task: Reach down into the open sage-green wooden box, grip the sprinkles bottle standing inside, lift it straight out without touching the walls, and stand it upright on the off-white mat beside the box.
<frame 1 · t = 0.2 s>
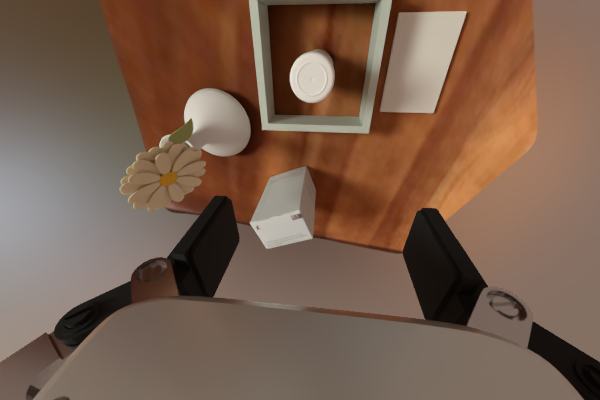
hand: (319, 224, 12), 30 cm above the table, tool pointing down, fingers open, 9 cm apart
open box: (318, 66, 33), on the table
flower in vase: (225, 118, 39), on the table
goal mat: (416, 67, 32), on the table
skincare box: (294, 181, 45), on the table
sprinkles bottle: (318, 66, 33), resting in open box
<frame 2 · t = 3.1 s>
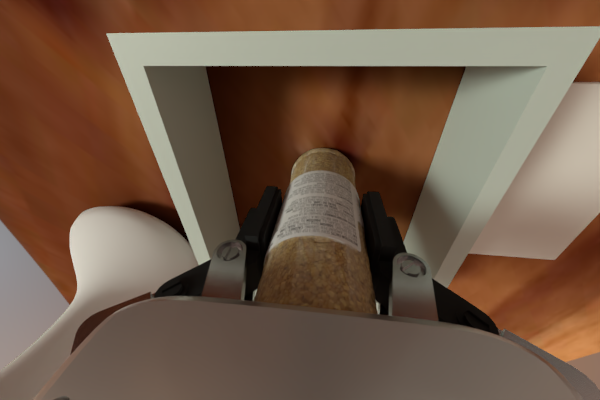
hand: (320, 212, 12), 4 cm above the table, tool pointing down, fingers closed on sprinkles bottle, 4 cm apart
open box: (322, 175, 16), on the table
flower in vase: (156, 238, 22), on the table
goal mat: (538, 185, 15), on the table
sprinkles bottle: (322, 174, 16), resting in open box, touching gripper
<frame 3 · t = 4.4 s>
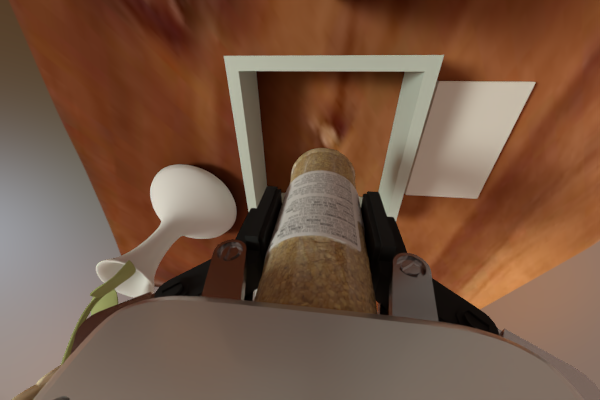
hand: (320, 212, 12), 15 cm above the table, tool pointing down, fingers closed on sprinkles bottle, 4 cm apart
open box: (324, 141, 25), on the table
flower in vase: (204, 193, 31), on the table
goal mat: (457, 145, 24), on the table
sprinkles bottle: (322, 174, 16), point 10 cm above the table, touching gripper
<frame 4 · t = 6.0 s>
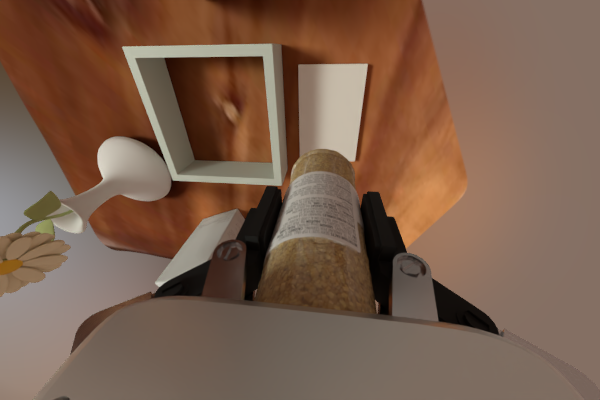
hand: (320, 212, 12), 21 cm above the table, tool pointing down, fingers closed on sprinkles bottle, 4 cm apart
open box: (228, 115, 31), on the table
flower in vase: (146, 163, 37), on the table
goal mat: (329, 116, 30), on the table
skincare box: (229, 222, 43), on the table
sprinkles bottle: (322, 174, 16), point 17 cm above the table, touching gripper
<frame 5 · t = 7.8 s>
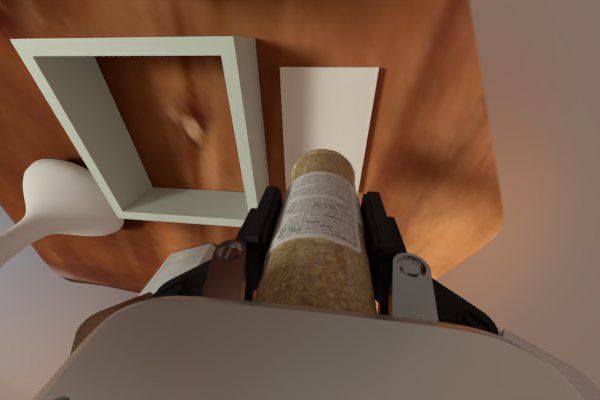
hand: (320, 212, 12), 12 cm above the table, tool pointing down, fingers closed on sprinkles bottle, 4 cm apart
open box: (189, 133, 23), on the table
flower in vase: (93, 189, 30), on the table
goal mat: (324, 137, 22), on the table
skincare box: (203, 257, 35), on the table
sprinkles bottle: (322, 175, 16), point 7 cm above the table, touching gripper
when the fingers open (6 cm above the table, at t = 9.3 s): sprinkles bottle stays where it is, resting on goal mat.
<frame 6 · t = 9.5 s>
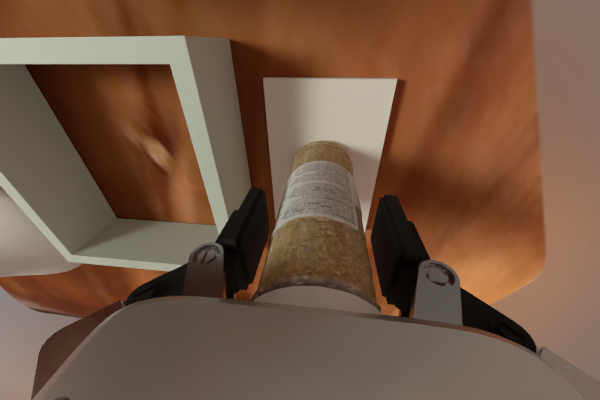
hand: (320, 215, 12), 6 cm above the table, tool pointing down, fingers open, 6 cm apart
open box: (154, 158, 19), on the table
flower in vase: (48, 218, 25), on the table
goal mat: (323, 165, 17), on the table
sprinkles bottle: (321, 166, 17), resting on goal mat
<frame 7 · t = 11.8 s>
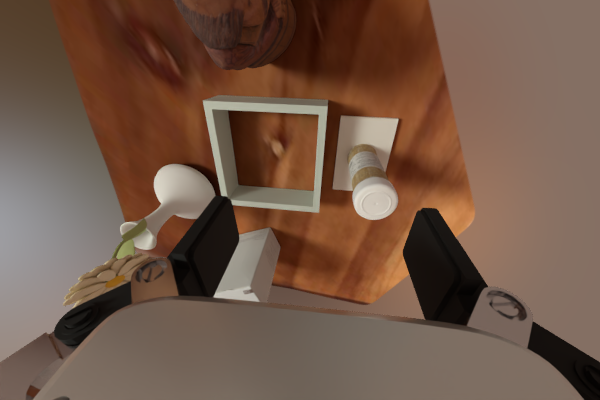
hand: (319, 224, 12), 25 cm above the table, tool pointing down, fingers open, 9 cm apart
wooden figurine: (269, 7, 27), on the table
open box: (274, 150, 37), on the table
flower in vase: (193, 185, 42), on the table
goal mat: (361, 156, 35), on the table
skincare box: (260, 239, 48), on the table
sprinkles bottle: (361, 156, 35), resting on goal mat
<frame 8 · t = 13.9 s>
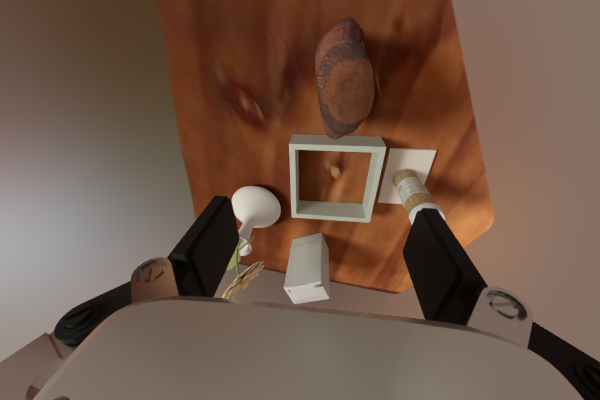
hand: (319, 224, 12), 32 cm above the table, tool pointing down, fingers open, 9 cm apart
wooden figurine: (341, 73, 36), on the table
open box: (332, 174, 46), on the table
flower in vase: (260, 201, 52), on the table
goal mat: (403, 177, 44), on the table
skincare box: (311, 242, 58), on the table
sprinkles bottle: (404, 177, 44), resting on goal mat
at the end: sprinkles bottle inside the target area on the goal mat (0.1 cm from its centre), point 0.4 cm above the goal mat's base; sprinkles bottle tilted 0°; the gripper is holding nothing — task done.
